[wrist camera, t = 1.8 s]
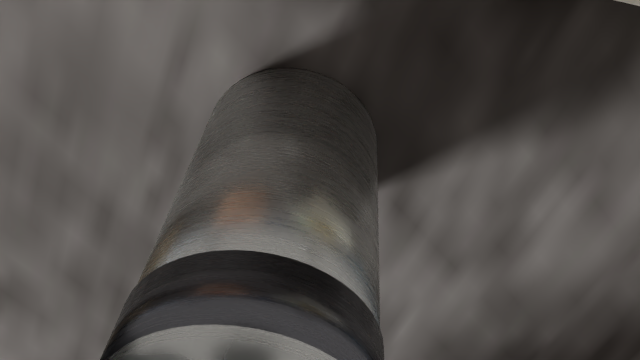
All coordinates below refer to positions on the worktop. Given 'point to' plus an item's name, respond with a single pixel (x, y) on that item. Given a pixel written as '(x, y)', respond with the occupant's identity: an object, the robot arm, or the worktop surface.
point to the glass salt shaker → (267, 234)
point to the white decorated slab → (631, 2)
